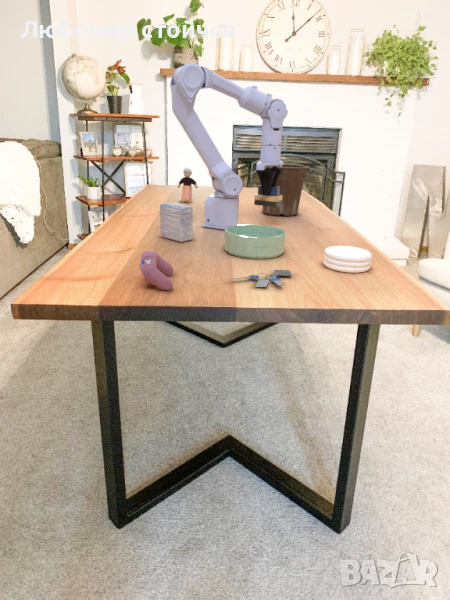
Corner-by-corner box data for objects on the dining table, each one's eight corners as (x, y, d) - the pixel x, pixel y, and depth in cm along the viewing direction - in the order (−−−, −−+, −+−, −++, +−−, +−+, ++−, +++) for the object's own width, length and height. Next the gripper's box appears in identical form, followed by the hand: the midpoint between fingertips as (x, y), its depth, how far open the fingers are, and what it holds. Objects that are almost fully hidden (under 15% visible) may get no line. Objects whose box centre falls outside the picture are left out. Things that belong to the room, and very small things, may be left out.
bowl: (213, 253, 103) (214, 232, 101) (240, 241, 115) (240, 222, 113) (270, 263, 97) (272, 240, 95) (292, 249, 109) (293, 229, 107)
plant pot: (271, 207, 165) (275, 162, 159) (311, 213, 156) (316, 165, 150) (248, 213, 153) (250, 164, 147) (289, 219, 144) (294, 168, 138)
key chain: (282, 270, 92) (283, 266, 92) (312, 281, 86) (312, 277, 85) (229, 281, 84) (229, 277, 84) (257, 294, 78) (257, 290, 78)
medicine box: (193, 240, 114) (193, 206, 111) (180, 242, 111) (180, 208, 108) (173, 234, 119) (172, 202, 116) (160, 237, 116) (159, 203, 113)
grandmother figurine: (177, 202, 168) (177, 167, 163) (177, 200, 172) (177, 166, 167) (197, 203, 169) (198, 168, 164) (197, 201, 172) (197, 167, 168)
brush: (254, 204, 131) (255, 185, 129) (260, 202, 135) (261, 184, 133) (276, 207, 128) (277, 187, 126) (281, 205, 132) (283, 186, 130)
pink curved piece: (155, 281, 87) (137, 250, 85) (175, 271, 87) (158, 240, 84) (151, 299, 78) (132, 265, 76) (174, 289, 78) (155, 254, 75)
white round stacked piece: (313, 262, 99) (315, 246, 98) (350, 258, 103) (352, 243, 101) (341, 275, 90) (343, 258, 89) (379, 271, 94) (382, 255, 93)
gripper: (274, 146, 118) (271, 198, 123) (293, 145, 130) (289, 192, 135) (250, 145, 121) (248, 195, 126) (270, 144, 133) (268, 190, 138)
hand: (268, 194), depth 130 cm, fingers closed on brush, 2 cm apart
